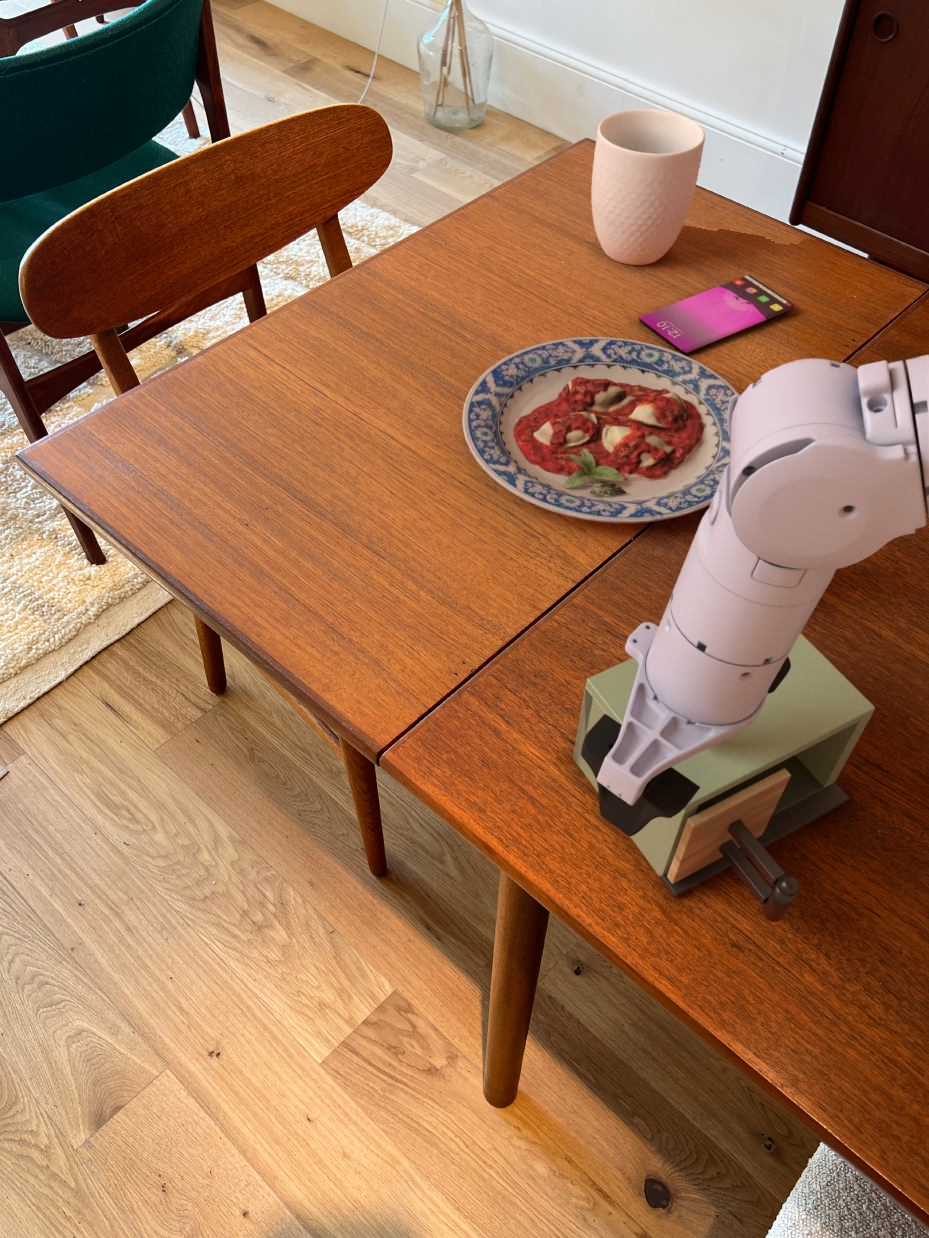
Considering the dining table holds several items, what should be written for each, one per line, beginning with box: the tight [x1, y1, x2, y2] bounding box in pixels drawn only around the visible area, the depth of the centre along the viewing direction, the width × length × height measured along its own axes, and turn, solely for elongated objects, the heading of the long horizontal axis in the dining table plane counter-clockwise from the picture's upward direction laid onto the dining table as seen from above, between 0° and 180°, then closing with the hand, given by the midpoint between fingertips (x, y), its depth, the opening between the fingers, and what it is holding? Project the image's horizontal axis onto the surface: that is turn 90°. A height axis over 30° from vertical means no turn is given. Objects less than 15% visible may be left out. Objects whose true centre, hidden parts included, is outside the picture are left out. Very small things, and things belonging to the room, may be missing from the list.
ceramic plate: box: [461, 336, 740, 524], centre depth 88 cm, size 26×26×3 cm
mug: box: [590, 108, 706, 266], centre depth 107 cm, size 15×11×13 cm
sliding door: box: [667, 768, 800, 923], centre depth 57 cm, size 6×7×7 cm
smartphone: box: [638, 274, 795, 355], centre depth 102 cm, size 7×15×1 cm, turn 122°
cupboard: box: [572, 632, 876, 898], centre depth 63 cm, size 11×14×9 cm
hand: (656, 774), depth 54 cm, fingers open, 7 cm apart
